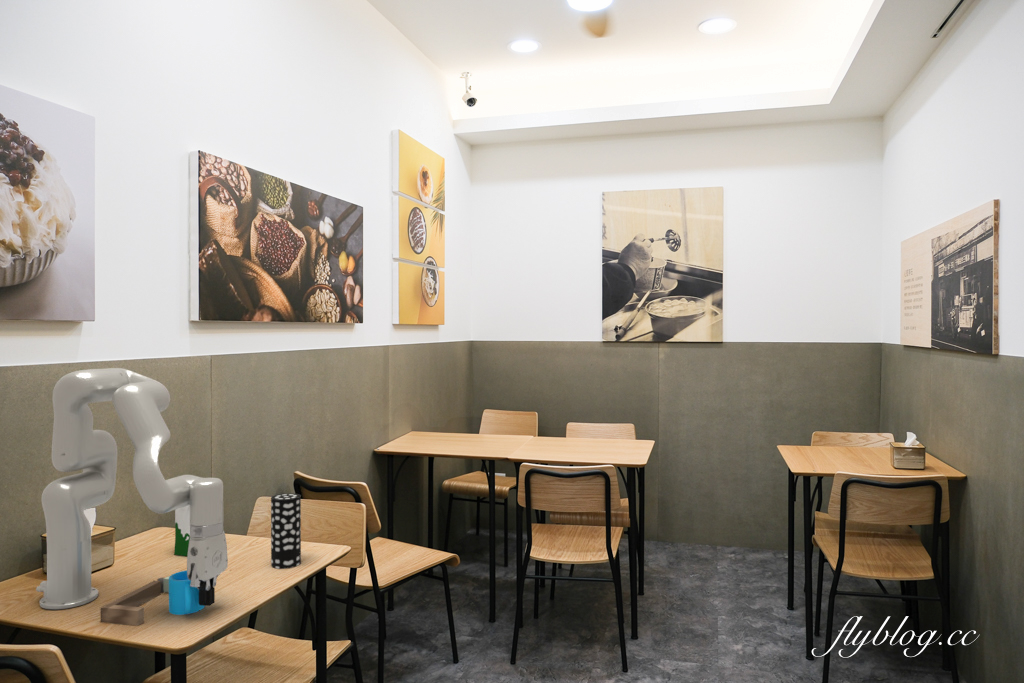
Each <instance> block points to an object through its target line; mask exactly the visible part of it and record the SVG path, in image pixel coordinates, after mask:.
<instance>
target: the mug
mask: <svg viewBox="0 0 1024 683" xmlns="http://www.w3.org/2000/svg"><path fill="white" fill-rule="evenodd" d="M169 576H170V577H169V593H168V613H169V614H172V615H178V616H181V615H190V614H194V613H197V612H200V611H201V610H203V609H205V607H206V606H203V605H199V590H198V589H197V587H191V586H190V584H191V580H189V579H188V577H187V569H186V570H181V571H177V572H175V573H173V574H170V575H169ZM199 610H200V611H199Z"/></svg>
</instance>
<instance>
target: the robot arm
mask: <svg viewBox="0 0 1024 683" xmlns="http://www.w3.org/2000/svg"><path fill="white" fill-rule="evenodd" d="M170 401H171V395H170V392H169V390H168V388H167V387H166V386H165V385H164V384H163V383H161V382H160V381H158V380H155V379H153V378H151V377H148V376H145V375H143V374H140V373H138V372H135V371H132V370H129V369H127V368H123V367H111V368H107V367H106V368H88V369H81V370H75V371H72V372H69V373H66V374H65V375H63V376H61V378H60V379H59V380H57V381H56V383H55V385H54V388H53V390H52V407H53V408H52V409H53V427H52V440H51V441H52V443H51V444H52V445H51V464H52V466H53V467H54V468H55V469H56V470H57V471H58V472H63V473H72V472H76V471H81V470H82V472H80V473H75V474H71V475H67V476H63V477H59V478H57V479H54V480H53V481H51V482H50V483H48V484H47V485H46V486H45V488H44V489H43V491H42V494H41V499H40V500H41V506H42V510H43V514H44V519H45V529H46V580H42V581H41V582H40V584H39V585H38V586H36V589H35V591H36V592H38V593H39V592H41V593H43V597H42V598H41V599H39V606H40V608H42V609H45V610H64V609H71V608H75V607H79V606H83V605H86V604H89V603H91V602H92V601H94V600H95V599H97V598H98V597H99V590H98V589H97V588H95V587H93V586H92V528H91V524H90V522H89V519H88V518H87V516H86V514H85V511H87V510H88V509H91V508H92V509H93V508H95V507H98V506H101V505H103V504H105V503H107V502H108V501H109V500H110V499H111V498H113V495H114V493H115V489H116V482H117V481H116V479H117V468H118V467H117V465H118V445H117V442H116V440H115V439H116V438H114V436H113V435H112V434H111V433H110V432H108V431H107V430H105V429H94V428H93V426H94V415H93V411H92V410H91V408H90V406H89V405H88V404H93V403H104V402H112V405H113V407H114V411H115V412H116V414H117V416H118V418H119V420H120V422H121V423H122V425H123V428H124V430H125V432H126V434H127V436H128V437H129V439H130V442H131V444H132V445H133V447H134V456H133V459H132V478H133V482H134V485H135V487H136V489H137V491H138V493H139V495H140V497H141V499H142V501H143V503H144V504H145V506H146V507H147V508H148V509H149V510H150V511H151V512H153V513H156V514H161V515H162V514H167V513H169V512H172V511H175V510H176V509H178V508H181V507H185V506H188V505H190V538H191V539H190V541H189V547H188V556H186V557H187V558H186V570H187V577H188V579H189V580H191V584H190V586H191V587H197V589H198V590H199V605H203V606H205V607H210V606H212V605H214V604H215V601H216V600H215V598H216V595H215V592H216V591H215V587H216V586H217V580H218V577H219V576H220V575H221V574H222V573H223V572H224V571H226V570H227V569H228V567H229V566H228V563H229V562H228V545H227V539H226V533H225V531H224V482H223V480H222V479H221V478H218V477H201V476H197V475H194V474H182V475H178V476H175V477H174V476H173V477H172V478H169V479H165V476H164V474H163V473H162V471H161V469H160V468H161V467H160V465H159V454H160V451H161V449H162V448H163V446H164V444H167V442H168V441H169V440H170V438H171V431H170V429H169V428H168V425H167V424H166V422H165V420H164V418H163V416H162V413H161V412H164V411H165V410H167V409H168V407H169V405H170V403H171V402H170Z"/></svg>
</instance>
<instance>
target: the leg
mask: <svg viewBox="0 0 1024 683" xmlns="http://www.w3.org/2000/svg"><path fill="white" fill-rule="evenodd" d="M170 576H171V575H168V576H166V577H163V578H164V593H168V594H169V577H170Z"/></svg>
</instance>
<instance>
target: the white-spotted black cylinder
mask: <svg viewBox="0 0 1024 683" xmlns="http://www.w3.org/2000/svg"><path fill="white" fill-rule="evenodd" d="M301 497H302V495H301V494H299V493H294V492H293V493H290V492H289V493H280V494H276V495H272V496H271V497H270V521H271V522H270V539H271V540H270V550H271V551H270V555H271V556H270V557H271V558H270V562H271V564H270V566H271V567H272V569H273V568H274V569H277V570H278V569H279V570H284V569H285V570H286V569H292V568H295V567H297V566H300V564H301V561H302V559H301V558H302V557H301V556H302V552H301V551H302V548H301V547H302V545H301V544H302V543H301V540H302V536H301V535H302V527H301V526H302V519H301V517H302V515H301V514H302V511H301V509H302V507H301V506H302V502H301V501H302V500H301Z"/></svg>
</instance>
